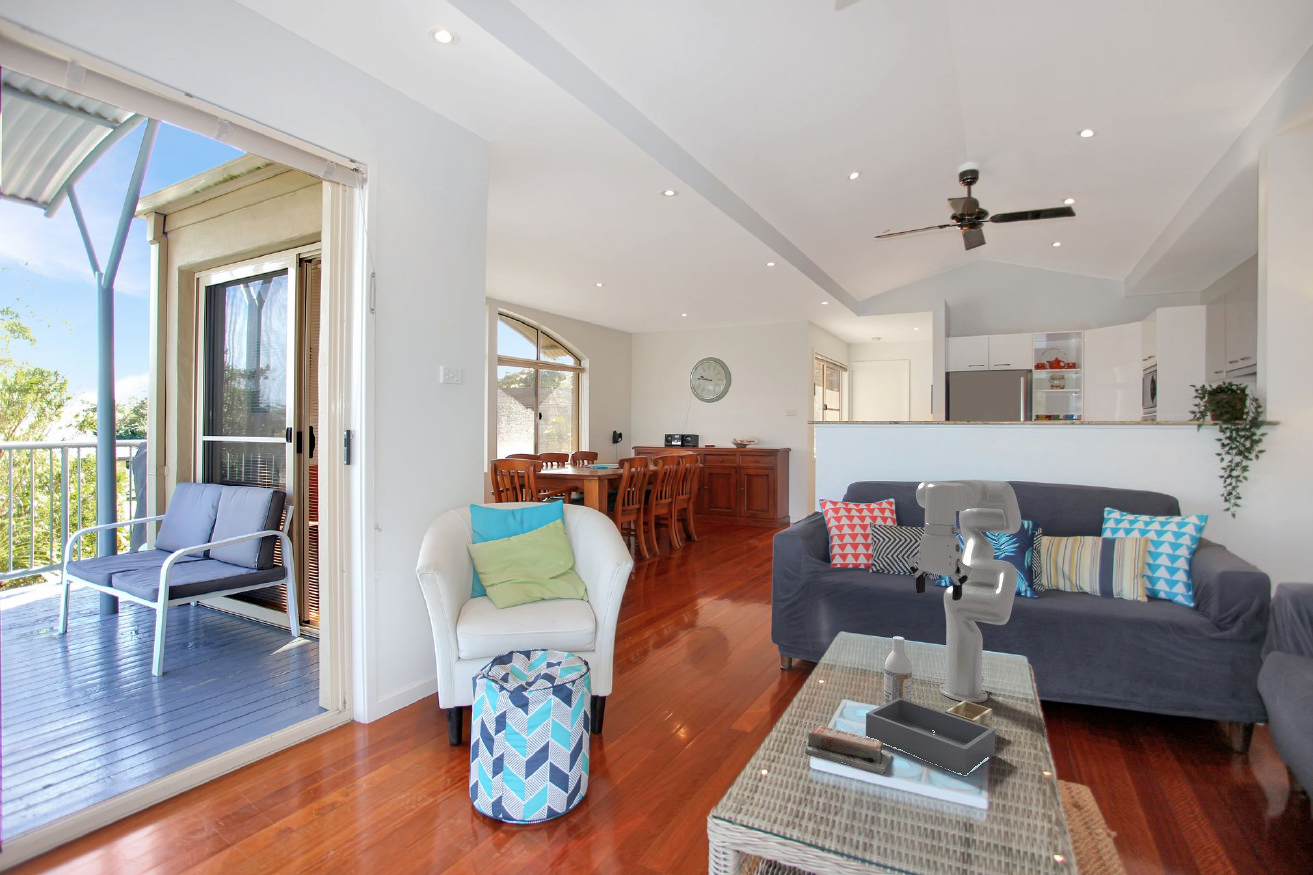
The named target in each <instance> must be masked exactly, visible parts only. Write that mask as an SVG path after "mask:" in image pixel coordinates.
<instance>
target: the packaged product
mask: <svg viewBox="0 0 1313 875" xmlns="http://www.w3.org/2000/svg"><path fill="white" fill-rule="evenodd" d="M807 739H808V743H807V745H806V746H805V748H804V753H805V754H808V755H812V756H815V755H818V756H817V757H819V756H820V758H822V759H826V758H827V759H826V760H830V761H833V760H835V761H834V762H836V761H838V762H837V763H840V762H843V763H846V764H845V765H847V764H849V765H848V766H850V765H851V767H854V766H855V767H854V768H858V769H861V768H862V769H861V770H865V771H869V772H872V773H877V774H881V775H882V774H884V773H885V772H886V770H887V768H888V766H889V765H890V763H891V761H892V759H893V752H889V751H885V750H883V746H884V745H883V742H881V741H877V740H874V739H871V738H866V736H864V735H863V736H862V735H858V734H855V733H851V732H848V731H844V730H839V729H836V728H833V727H829V726H825V725H821V724H820V725H819V724H816V725H815V726H814V727H813V728H812V729H811V730H810V731H809V732H808V735H807ZM891 758H892V759H891ZM843 763H842V764H843ZM888 764H889V765H888Z"/></svg>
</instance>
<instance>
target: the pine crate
mask: <svg viewBox="0 0 1313 875" xmlns="http://www.w3.org/2000/svg"><path fill="white" fill-rule="evenodd" d="M944 713H947V714H950V715H953V716H956V717H959V718H962V719H965V720H968V721H971V722H975V723H978V724H981V725H984V726H987V727H990V728H993V708H990V707H988V706H987V707H986V706H983V705H980V704H977V703H975V702H968V701H960V702H959V703H957V704H956V705H954V706H952V707H950V708H948V709H946V710H945V711H944Z"/></svg>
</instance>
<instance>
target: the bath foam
mask: <svg viewBox="0 0 1313 875" xmlns="http://www.w3.org/2000/svg"><path fill="white" fill-rule="evenodd" d="M883 673H884V674H883V676H884V678H883V705H884V704H886V703H888V702H891V701H893V700H895V699H897V698H902V699H905V700H908V701H911V702H912V686H913V684H912V681H913V680H912V679H913V677H912V676H913V675H912V674H913V668H912V664H911V661H910V659H909V658H908V655H907V654H906V652H905V638H904V637H903V636H898V635H896V636H893V637H892V651H891V652H890V653H889V654H888V656H887V658H886V659H885V663H884V671H883Z"/></svg>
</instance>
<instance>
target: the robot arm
mask: <svg viewBox="0 0 1313 875" xmlns="http://www.w3.org/2000/svg"><path fill="white" fill-rule="evenodd" d="M915 497H916V502H917V505H919V506H920V507H921V508H923V509H924V533H923V534H921V537H920V541H919V546H918V547H919V548H918V554H917V555H915V556H913V557H910V558H908V559H907V560H906V562H907V564H908V566H909V570H910V572H911V573H912V574H913V577H914V578H915V589H916V593H917V594H922V593H925V591H926V577H925V575H926V574H934V575H937V576H938V575H939V576H945V577H950V578H951V580H952V582H953V584H952V585H950V586H949V587H947V588H946V589H945V590H944V592H943V605H944V613H945V621H946V622H945V623H946V640H945V642H946V643H945V644H946V646H945V683H942V684H940V686H939V692H940V693H941V694H942V695H944V696H945V697H947V698H950V699H952V700H954V701H960V702H962V701H968V702H971V703H983V702H985V701H987V700H988V693H987V692H986V691H985V690H984V689H982V688H983V687H982V686H983V685H982V683H984V682H985V677H984V676H983V634H982V632H981V629H980V627H979V626H978V625H977V623H976V622H980V623H986V624H990V625H996V626H997V625H998V626H1002V625H1003V626H1004V625H1006V624H1007V623H1008V621H1009V620H1010V617H1011V613H1012V610H1013V605H1014V601H1015V600H1014V599H1015V596H1016V591H1017V585H1018V572H1017V568H1016V566H1015V565H1014V564H1013V563H1011V562H1009V561H1007V560H1002V559H994V557H995V552H996V551H995V548H994V545H993V544H992V543H991V541H990V540H989V539H988V538H987V536H985V535H984V534H983V533H984V532H985V533H994V534H1005V535H1013V534H1016V533H1018V532H1019V531H1020V529H1021V526H1022V515H1021V510H1020V507H1019V503H1018V502H1019V501H1018V500H1017V496H1016V493H1015V490H1014V488H1013V487H1012V485H1011V484H1010V483H1009V482H1007V481H1003V480H988V479H987V480H985V479H957V480H956V479H955V480H954V479H953V480H932V481H931V480H929V481H928V480H926V481H922V482H920V483H919V485H918V487H917V488H916V491H915ZM957 512H958V514H959V515H958V521H959V527H960V528H959V527H957ZM982 532H983V533H982ZM958 534H959V535H960V534H961V538H962V541H963V549H962V547H961V541H960V538H959V537H958V536H957V535H958ZM916 563H917V566H916Z"/></svg>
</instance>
